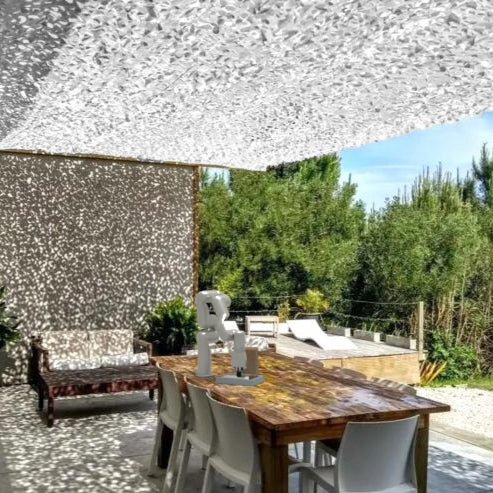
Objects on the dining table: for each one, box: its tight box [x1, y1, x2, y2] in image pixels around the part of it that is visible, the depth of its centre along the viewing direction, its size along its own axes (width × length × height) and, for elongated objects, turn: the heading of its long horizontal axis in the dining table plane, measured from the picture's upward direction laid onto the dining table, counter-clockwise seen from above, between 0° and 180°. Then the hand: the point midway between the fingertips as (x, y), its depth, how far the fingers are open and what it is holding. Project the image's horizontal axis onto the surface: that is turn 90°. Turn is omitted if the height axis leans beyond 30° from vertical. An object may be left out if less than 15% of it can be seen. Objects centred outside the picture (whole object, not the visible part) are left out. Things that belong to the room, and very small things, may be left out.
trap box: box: [215, 372, 265, 387], centre depth 421 cm, size 27×18×4 cm, turn 64°
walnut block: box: [249, 374, 259, 380], centre depth 418 cm, size 4×4×3 cm
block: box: [242, 346, 259, 375], centre depth 444 cm, size 10×10×20 cm
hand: (239, 376), depth 422 cm, fingers closed
